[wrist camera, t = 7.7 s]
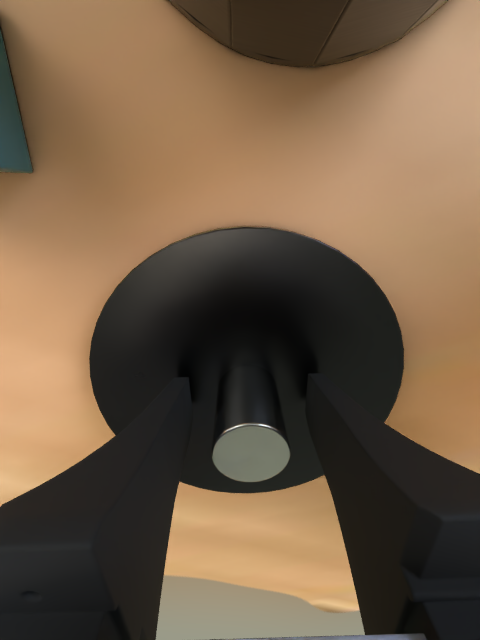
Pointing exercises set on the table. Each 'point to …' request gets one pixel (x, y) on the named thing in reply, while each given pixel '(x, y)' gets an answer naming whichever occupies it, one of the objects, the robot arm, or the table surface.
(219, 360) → the lid
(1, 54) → the block
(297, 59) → the black round container
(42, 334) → the table surface
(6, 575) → the robot arm
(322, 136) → the table surface
